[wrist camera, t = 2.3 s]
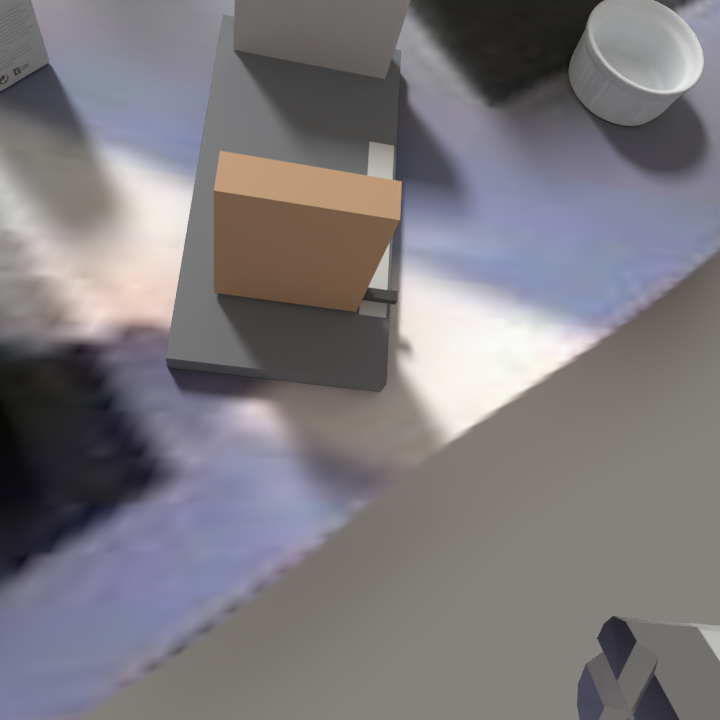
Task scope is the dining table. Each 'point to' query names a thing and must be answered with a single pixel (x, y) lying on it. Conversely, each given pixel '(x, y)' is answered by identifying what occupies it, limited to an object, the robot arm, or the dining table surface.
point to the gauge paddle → (301, 232)
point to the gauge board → (301, 146)
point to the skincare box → (19, 42)
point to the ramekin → (634, 61)
